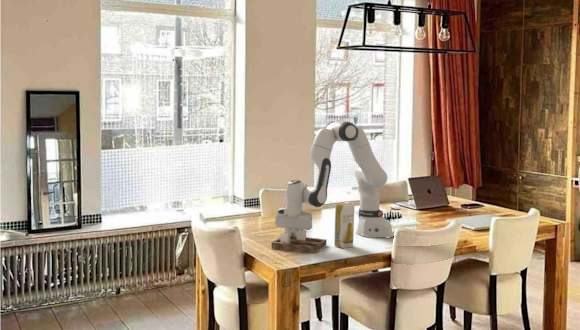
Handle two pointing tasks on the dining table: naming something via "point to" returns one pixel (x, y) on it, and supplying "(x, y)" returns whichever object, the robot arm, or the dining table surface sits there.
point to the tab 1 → (285, 237)
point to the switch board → (301, 245)
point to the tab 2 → (301, 234)
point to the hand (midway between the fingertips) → (293, 236)
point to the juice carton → (344, 225)
